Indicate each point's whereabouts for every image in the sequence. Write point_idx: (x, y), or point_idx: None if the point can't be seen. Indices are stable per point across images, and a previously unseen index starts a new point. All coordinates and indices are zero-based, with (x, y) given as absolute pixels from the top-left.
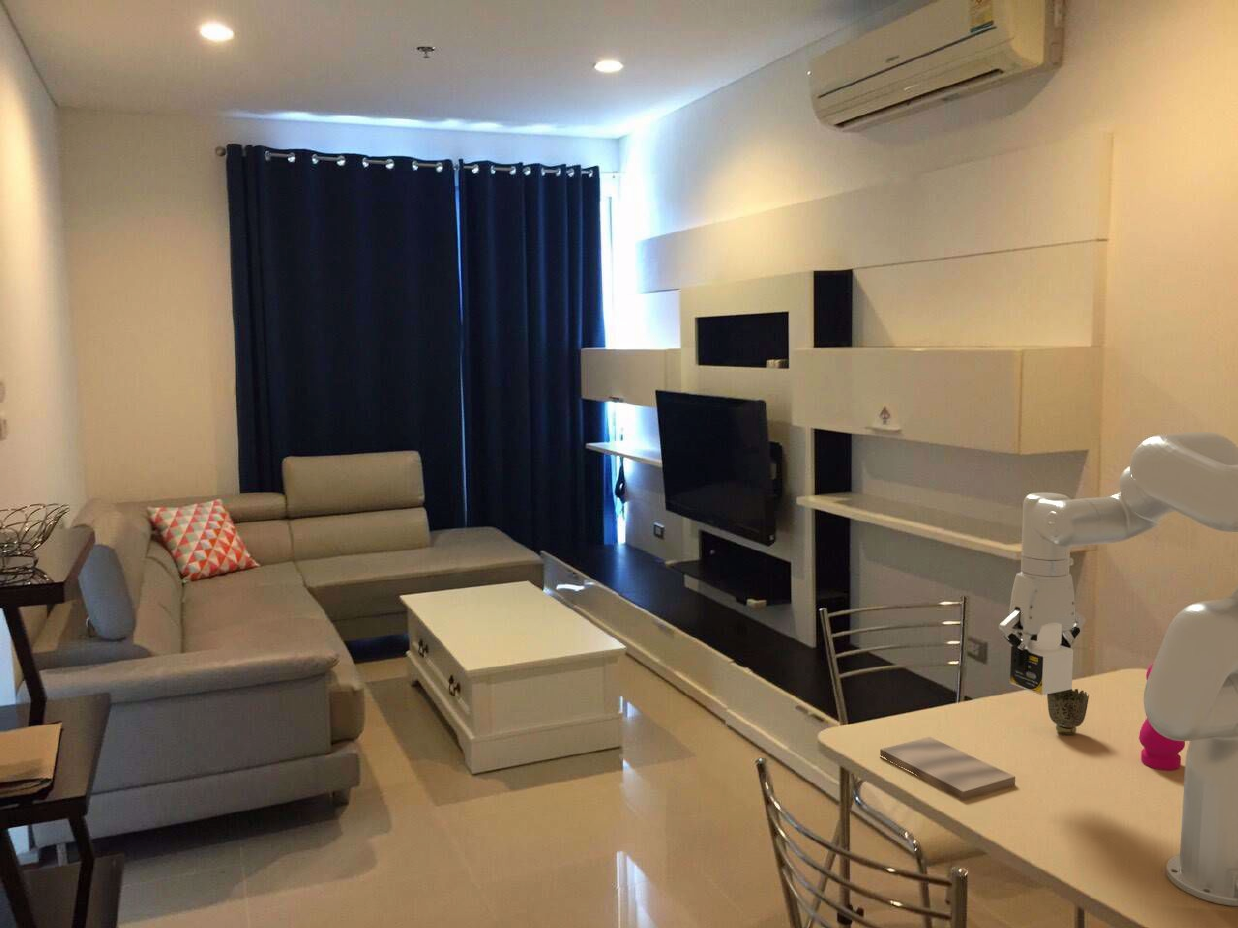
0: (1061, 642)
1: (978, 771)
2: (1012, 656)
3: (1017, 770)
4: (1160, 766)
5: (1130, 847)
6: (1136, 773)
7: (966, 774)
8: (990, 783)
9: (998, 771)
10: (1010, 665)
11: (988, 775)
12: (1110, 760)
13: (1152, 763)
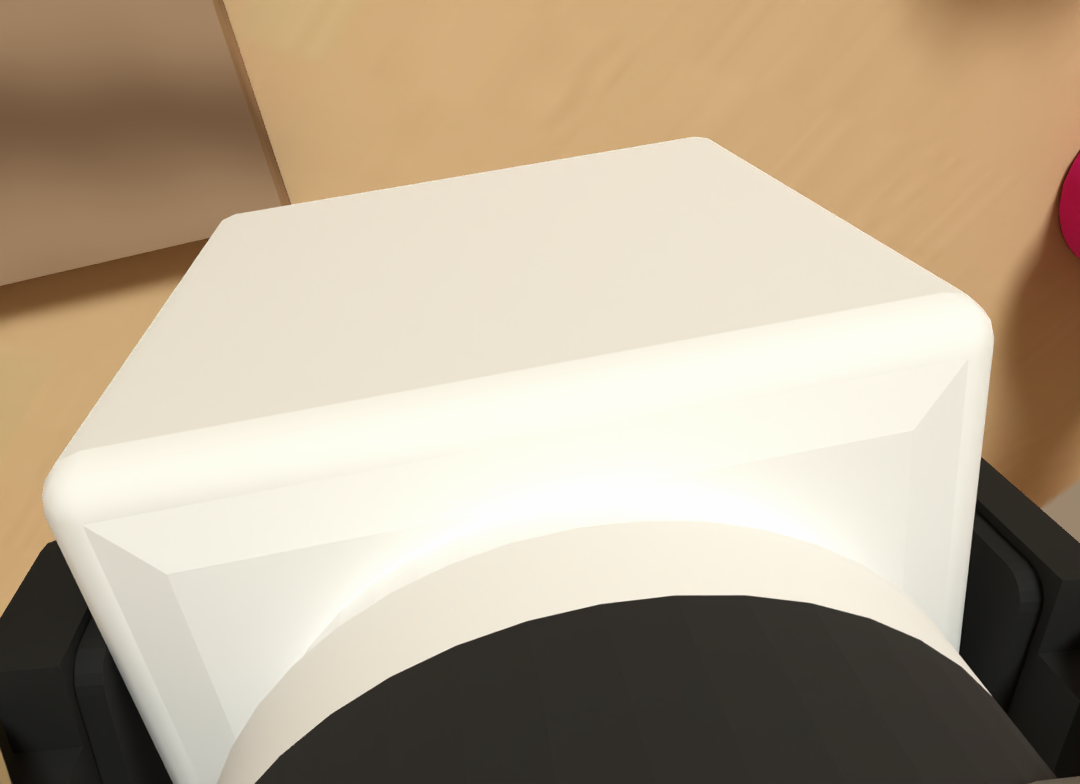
0: (1022, 718)
1: (102, 97)
2: (9, 604)
3: (414, 43)
4: (1077, 251)
5: None
6: (939, 251)
7: (4, 116)
8: (101, 259)
9: (226, 132)
10: (169, 297)
11: (138, 166)
12: (969, 82)
13: (1071, 225)
